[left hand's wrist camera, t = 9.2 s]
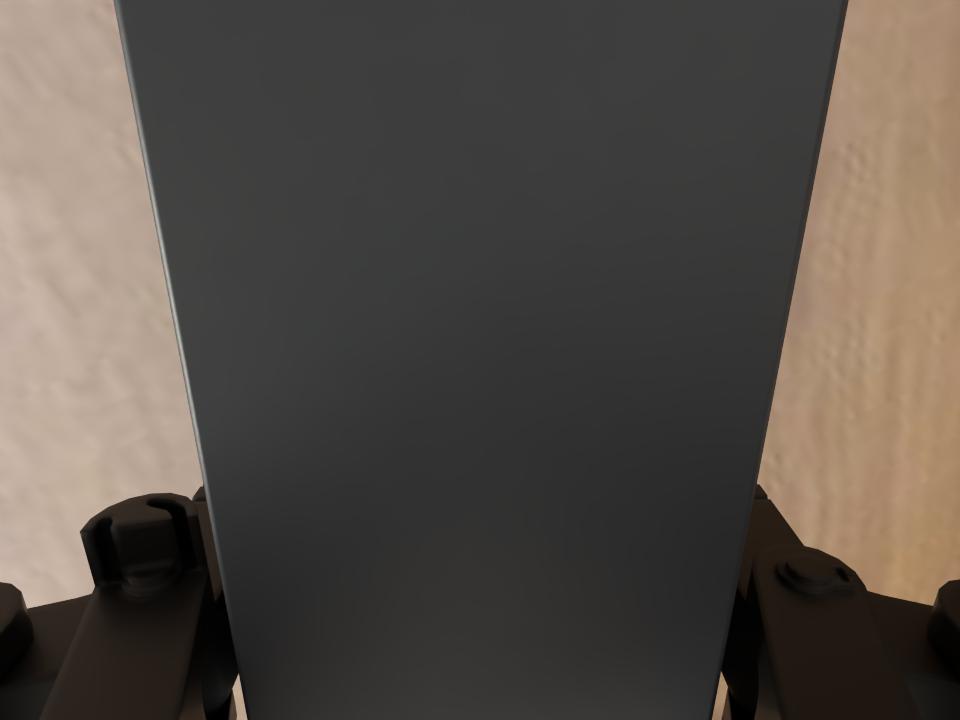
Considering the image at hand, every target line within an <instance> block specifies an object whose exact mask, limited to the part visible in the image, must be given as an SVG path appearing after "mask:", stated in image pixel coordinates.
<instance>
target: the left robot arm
mask: <svg viewBox="0 0 960 720" xmlns="http://www.w3.org/2000/svg"><path fill="white" fill-rule="evenodd" d="M80 534H81V538H82V541H83V545H84V548H85V552H86V555H87V559H88V562H89V566H90V570H91V573H92V577H93V580H94V584H95V588H94V590H93V593H92V594H89V595H86V596H82V597H79V598H75V599H70V600H66V601H61V602H56V603H52V604H47V605H42V606H38V607H33V608H29V609H27V607H26V604H25V601H24V598H23V595H22V592H21V591H20V590H18V589H17V588H16V587H15V586H13V585H12V584H9V583H2V582H0V720H236V718H237V713H236V706H235V700H234V695H233V690H232V688H233V685H234V683H235V681H236V678H237V676H238V674H239V671H238V666H237V660H236V655H235V650H234V644H233V639H232V633H231V628H230V623H229V617H228V612H227V607H226V601H225V596H224V591H223V585H222V580H221V574H220V569H219V564H218V558H217V553H216V548H215V542H214V537H213V531H212V526H211V521H210V515H209V510H208V505H207V499H206V494H205V489H204V483H203V487H200V488H199V490H198V491H197V492H196V494H195V495H194V497H193V500H192V501H191V500H190V499H189V498H188V497H186V496H182V495H177V494H173V493H156V494H147V495H143V496H138V497H134V498H129V499H127V500H124V501H122V502H120V503H117V504H115V505H112V506H110V507H108V508H106V509H105V510H103V511H102V512H100V513H99V514H97V515H96V516H94V517H93V518H91V519H90V520H89V521H88V522H87V524H86V525H85V526H84V527H83V528H82V530H81V531H80ZM721 671H722V674H723V676H724V678H725V681H726V683H727V686H728V690H727V695H726V700H725V705H724V710H723V715H722V720H960V579H959V580H953V581H948V582H947V583H946V584H945V585H943V586H942V587H941V588H940V589H939V591H938V594H937V597H936V600H935V603H934V606H930V605H926V604H921V603H916V602H912V601H907V600H902V599H898V598H893V597H888V596H884V595H880V594H877V593H873V592H869V591H867V589H866V587H865V585H864V584H863V582H862V581H861V579H860V578H859V577H858V575H857V574H856V572H855V571H854V570H852V569H851V568H850V567H848V566H847V565H846V564H844V563H843V562H842V561H840V560H839V559H837V558H835V557H833V556H831V555H829V554H827V553H825V552H822V551H820V550H818V549H814V548H810V547H806V546H804V545H803V544H802V542H801V541H800V540H799V538H798V537H797V535H796V534H795V533H794V531H793V530H792V529H791V527H790V526H789V524H788V523H787V522H786V520H785V519H784V518H783V516H782V515H781V514H780V512H779V511H778V509H777V508H776V507H775V505H774V504H773V503H772V501H771V500H770V499H768V498H767V494H766V493H765V492H764V490H763V489H762V487H761V486H760V485H757V484H756V489H755V495H754V500H753V505H752V510H751V516H750V521H749V526H748V531H747V537H746V542H745V547H744V553H743V558H742V563H741V568H740V574H739V579H738V584H737V589H736V595H735V600H734V605H733V610H732V616H731V621H730V626H729V631H728V637H727V642H726V647H725V652H724V658H723V663H722V668H721Z"/></svg>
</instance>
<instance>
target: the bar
mask: <svg viewBox="0 0 960 720" xmlns="http://www.w3.org/2000/svg"><path fill="white" fill-rule="evenodd" d="M114 5H115V11H116V16H117V22H118V27H119V32H120V38H121V43H122V48H123V54H124V59H125V64H126V70H127V75H128V81H129V86H130V91H131V97H132V102H133V107H134V113H135V118H136V124H137V129H138V134H139V140H140V145H141V150H142V156H143V161H144V166H145V172H146V177H147V183H148V188H149V193H150V199H151V204H152V209H153V215H154V220H155V225H156V231H157V236H158V242H159V247H160V252H161V258H162V263H163V268H164V274H165V279H166V285H167V290H168V295H169V301H170V306H171V311H172V317H173V322H174V327H175V333H176V338H177V344H178V349H179V354H180V360H181V365H182V370H183V376H184V381H185V387H186V392H187V397H188V403H189V408H190V413H191V419H192V424H193V429H194V435H195V440H196V446H197V451H198V456H199V462H200V467H201V472H202V478H203V483H204V489H205V494H206V499H207V505H208V510H209V515H210V521H211V526H212V531H213V537H214V542H215V548H216V553H217V558H218V564H219V569H220V574H221V580H222V585H223V591H224V596H225V601H226V607H227V612H228V617H229V623H230V628H231V633H232V639H233V644H234V650H235V655H236V660H237V666H238V671H239V676H240V682H241V687H242V693H243V698H244V703H245V709H246V714H247V719H248V720H712V716H713V710H714V705H715V700H716V695H717V689H718V684H719V679H720V673H721V668H722V663H723V658H724V652H725V647H726V642H727V637H728V631H729V626H730V621H731V616H732V610H733V605H734V600H735V595H736V589H737V584H738V579H739V574H740V568H741V563H742V558H743V553H744V547H745V542H746V537H747V531H748V526H749V521H750V516H751V510H752V505H753V500H754V495H755V489H756V484H757V479H758V474H759V468H760V463H761V458H762V453H763V447H764V442H765V437H766V432H767V426H768V421H769V416H770V411H771V405H772V400H773V395H774V389H775V384H776V379H777V374H778V368H779V363H780V358H781V353H782V347H783V342H784V337H785V332H786V326H787V321H788V316H789V311H790V305H791V300H792V295H793V290H794V284H795V279H796V274H797V269H798V263H799V258H800V253H801V247H802V242H803V237H804V232H805V226H806V221H807V216H808V211H809V205H810V200H811V195H812V190H813V184H814V179H815V174H816V169H817V163H818V158H819V153H820V148H821V142H822V137H823V132H824V126H825V121H826V116H827V111H828V105H829V100H830V95H831V90H832V84H833V79H834V74H835V69H836V63H837V58H838V53H839V48H840V42H841V37H842V32H843V27H844V21H845V16H846V11H847V6H848V0H114Z"/></svg>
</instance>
